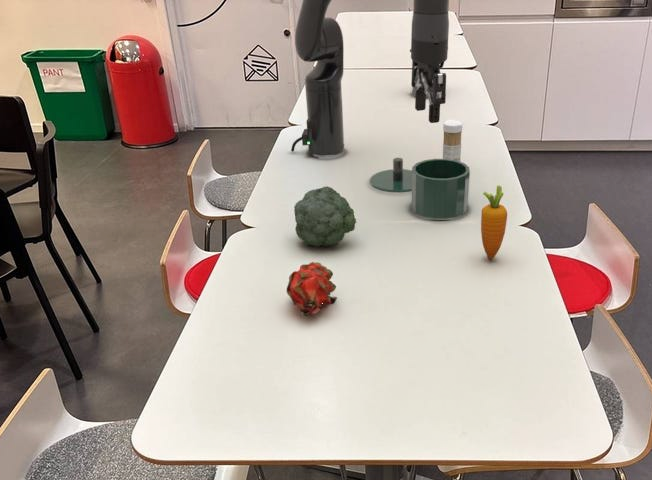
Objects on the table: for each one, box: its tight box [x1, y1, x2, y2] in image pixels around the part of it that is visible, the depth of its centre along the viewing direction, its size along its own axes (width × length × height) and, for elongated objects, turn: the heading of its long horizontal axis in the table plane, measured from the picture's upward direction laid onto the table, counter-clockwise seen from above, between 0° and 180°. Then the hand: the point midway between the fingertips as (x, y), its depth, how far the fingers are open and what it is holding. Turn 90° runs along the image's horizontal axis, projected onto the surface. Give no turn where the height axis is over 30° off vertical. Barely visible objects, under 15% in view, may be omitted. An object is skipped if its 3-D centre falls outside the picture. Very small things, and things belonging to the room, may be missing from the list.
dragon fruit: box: [286, 261, 338, 317], centre depth 125 cm, size 8×8×12 cm
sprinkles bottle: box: [442, 119, 463, 162], centre depth 172 cm, size 5×5×14 cm
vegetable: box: [293, 185, 357, 248], centre depth 146 cm, size 12×13×15 cm
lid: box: [369, 157, 412, 193], centre depth 171 cm, size 14×14×6 cm
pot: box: [411, 158, 471, 222], centre depth 157 cm, size 13×13×10 cm
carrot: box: [480, 185, 508, 261], centre depth 136 cm, size 5×5×15 cm
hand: (426, 116), depth 153 cm, fingers open, 8 cm apart
